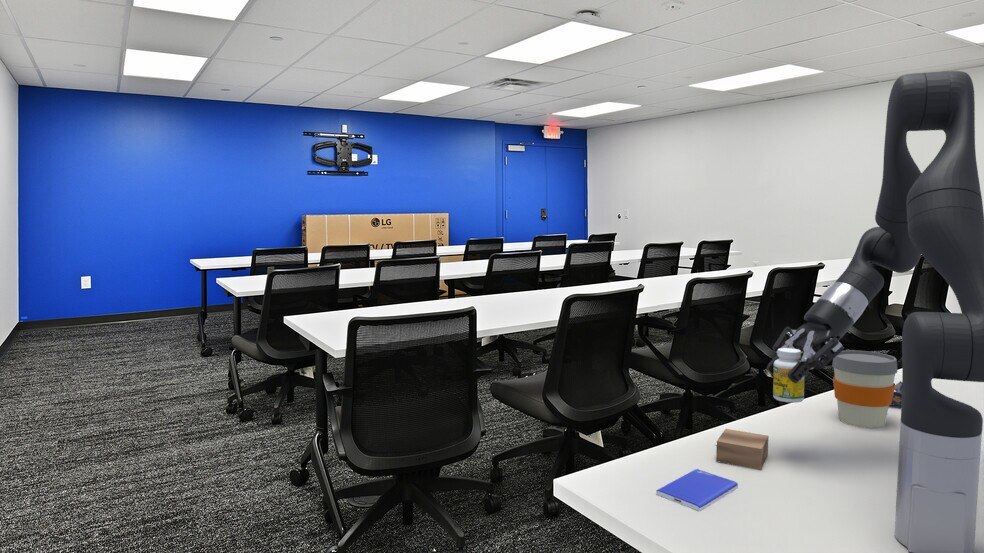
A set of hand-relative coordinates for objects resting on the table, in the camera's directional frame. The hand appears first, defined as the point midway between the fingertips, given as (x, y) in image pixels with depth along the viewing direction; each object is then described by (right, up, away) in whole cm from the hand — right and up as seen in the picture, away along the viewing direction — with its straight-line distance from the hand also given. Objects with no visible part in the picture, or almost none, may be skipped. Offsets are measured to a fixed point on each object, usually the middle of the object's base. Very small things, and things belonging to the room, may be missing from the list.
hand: (780, 375), depth 118 cm
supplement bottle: (+2, -5, +1) cm, 5 cm away
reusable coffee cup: (+29, -14, +22) cm, 39 cm away
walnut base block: (-7, -16, +2) cm, 18 cm away
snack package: (+47, -13, +33) cm, 59 cm away
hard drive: (-20, -19, -12) cm, 30 cm away
